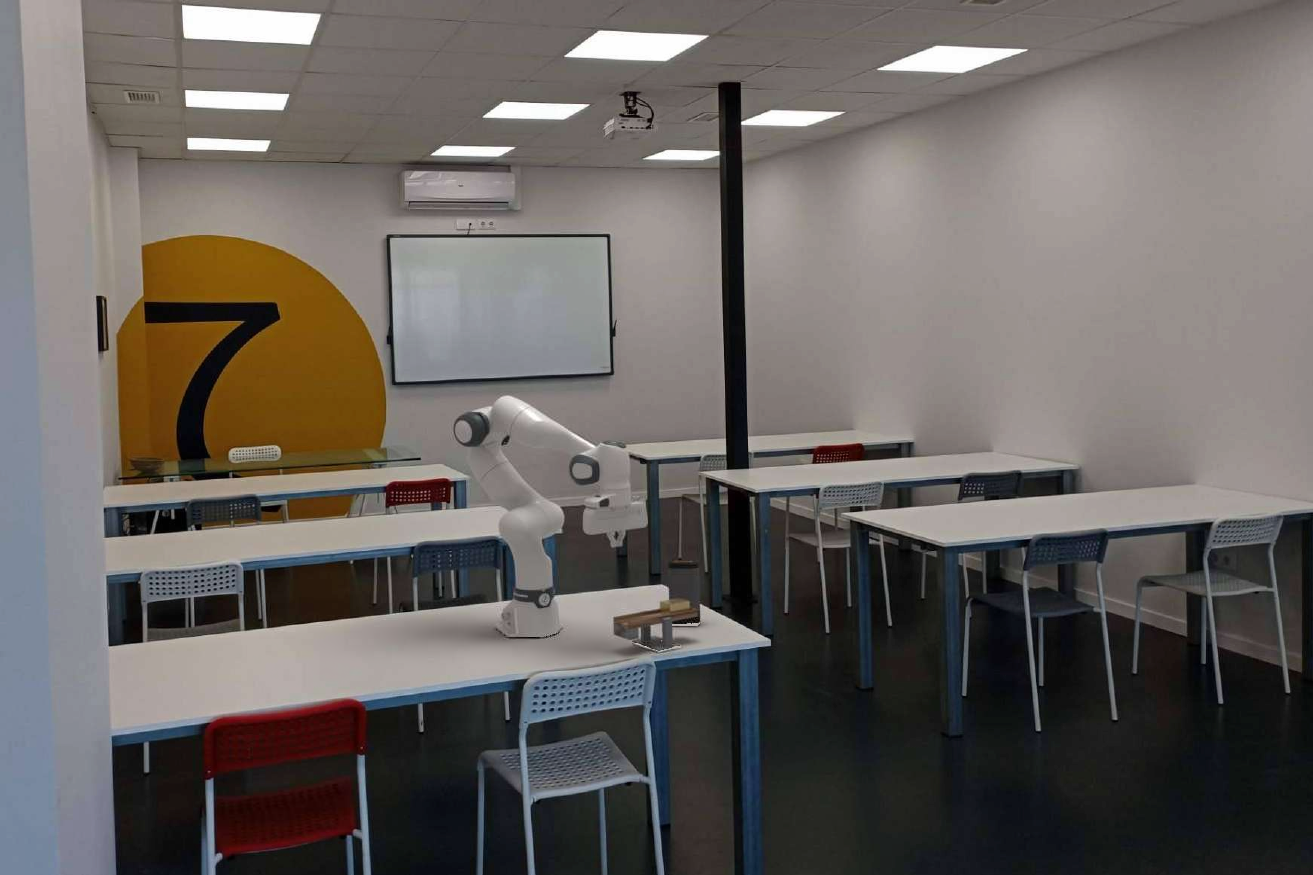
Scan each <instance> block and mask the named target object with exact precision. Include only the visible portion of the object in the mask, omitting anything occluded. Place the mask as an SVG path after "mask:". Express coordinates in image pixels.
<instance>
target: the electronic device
mask: <svg viewBox="0 0 1313 875" xmlns="http://www.w3.org/2000/svg"><path fill="white" fill-rule="evenodd" d="M667 566H668V567H667V568H668V569H667V570H668V600H671V599H676V598H681V599H685V600H688V601H690V607H691V608H694V609H698V616H697V617H692V618H687V619H681V620H676V621H672V624H687V623H691V624H692V623H699V622H700V623H701V588H700V587H701V584H700V582H701V580H700V560H699V559H698V558H691V560H678V559H677V558H671V559H669V561H668V564H667Z"/></svg>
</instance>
